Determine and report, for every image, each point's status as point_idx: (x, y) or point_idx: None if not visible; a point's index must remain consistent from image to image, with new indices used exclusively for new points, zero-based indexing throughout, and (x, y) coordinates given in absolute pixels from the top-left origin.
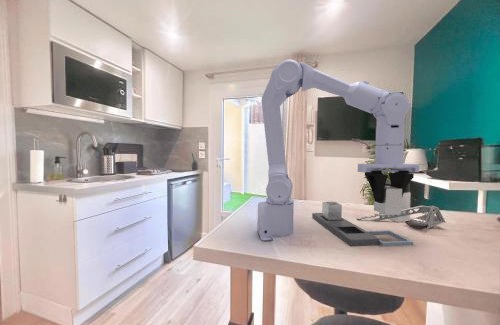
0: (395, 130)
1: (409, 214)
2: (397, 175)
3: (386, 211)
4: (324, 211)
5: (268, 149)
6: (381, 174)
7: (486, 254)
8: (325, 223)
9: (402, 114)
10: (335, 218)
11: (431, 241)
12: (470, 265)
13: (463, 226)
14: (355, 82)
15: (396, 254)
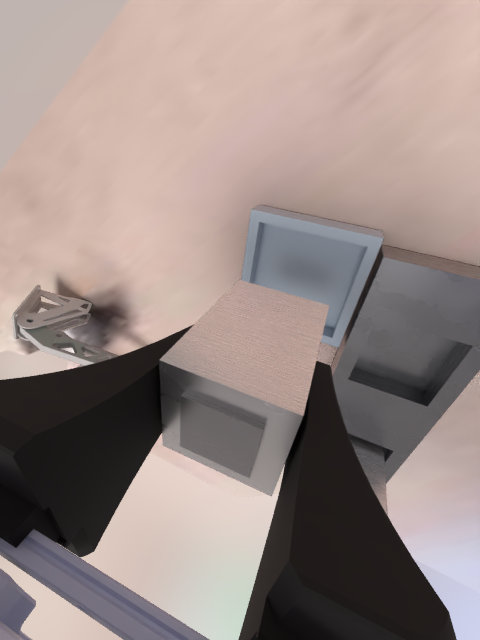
0: None
1: (99, 349)
2: (77, 493)
3: (320, 312)
4: None
5: None
6: (320, 635)
7: (77, 105)
8: (414, 444)
9: None
10: (353, 446)
11: (150, 233)
12: (191, 35)
13: (4, 275)
14: None
15: (361, 189)
